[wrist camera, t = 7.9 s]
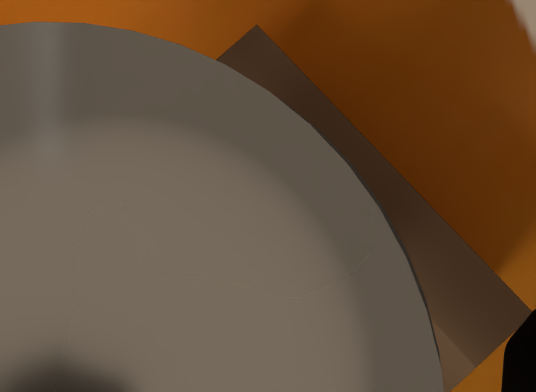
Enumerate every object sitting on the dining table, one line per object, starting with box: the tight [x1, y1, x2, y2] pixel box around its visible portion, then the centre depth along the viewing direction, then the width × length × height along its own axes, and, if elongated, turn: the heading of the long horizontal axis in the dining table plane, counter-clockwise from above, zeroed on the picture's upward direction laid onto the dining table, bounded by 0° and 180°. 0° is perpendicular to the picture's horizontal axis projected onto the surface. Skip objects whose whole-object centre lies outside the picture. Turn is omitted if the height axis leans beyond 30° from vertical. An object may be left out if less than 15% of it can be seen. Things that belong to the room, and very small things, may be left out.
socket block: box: [216, 25, 532, 392], centre depth 14 cm, size 10×10×4 cm
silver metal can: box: [0, 22, 444, 392], centre depth 9 cm, size 5×5×13 cm
